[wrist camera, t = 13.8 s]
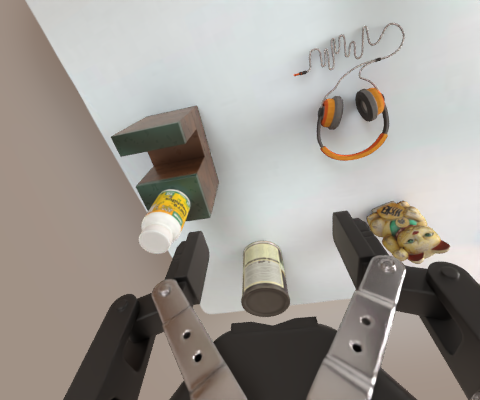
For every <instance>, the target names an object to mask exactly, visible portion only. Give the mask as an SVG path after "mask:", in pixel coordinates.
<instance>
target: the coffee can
mask: <svg viewBox="0 0 480 400" xmlns="http://www.w3.org/2000/svg"><path fill="white" fill-rule="evenodd" d="M241 303H242V306H243V308H244V309H245V310H246V311H247V312H248V313H250V314H252V315H256V316H260V317H271V316H276V315H279V314H281V313H282V312H284V311H285V310H286V309H287V308H288V307H289V305H290V298H289V295H288V290H287V284H286V278H285V272H284V266H283V260H282V252H281V250H280V248H279V247H278V246H277V245H276V244H274V243H272V242H269V241H257V242H254V243H251V244H250V245H248V246H247V247H246V248H245V250H244V253H243V289H242V300H241Z"/></svg>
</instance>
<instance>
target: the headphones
mask: <svg viewBox="0 0 480 400" xmlns="http://www.w3.org/2000/svg"><path fill="white" fill-rule="evenodd" d="M389 25H396V26H398V27H399V28H400V29H401V31H402V34H403V40H402V43H401V45H400V47H399V48H398V50H396V51H395V52H394V53H392V54H391V55H389V56H386V57H383V58H377V59H375V60H371V61H368V62H365V63H362V64H360V65H358V66H356V67H354V68H353V69H351V70H350V71H349V72H347V73H346V74H345V75H344V76H343V77H342V78H341V79H340V80H339V81H338V83H337V85H336V86H335V88H334V89H333V90H331V91H330V92H329V93H328V94H327V95H326V96H325V98H324V99H323V101H322V104H321V108H319V111H318V122H317V140H318V143H319V145H320V147H321V148H320V149H321V151H322V152H323V153H324V154H326V155H327V156H328V157H330V158H333V159H336V160H344V161H346V160H354V159H359V158H362V157H365V156H367V155H369V154H371V153H373V152H374V151H376V150H377V149H378V148H379V147H380V146H381V145H382V144H383V143H384V141H385V140H386V138H387V136H388V135H387V132H388V129H389V116H388V112H387V108H386V105H385V102H384V96H383V94H382V93H380V91H379V90H378V88H377V87H376V85H375V84H374V83H373V82H371V81H370V80H367V79H365V78H362V77H361V76H360V73H361V71H362V69H363V68H364V67H365V66H367V65H369V64H371V63H373V62H377V61H380V60H382V59H385V58H388V57H390V56H392V55H394V54H395V53H396V52H398V51H399V49H400V48H401V46H402V45H403V42H404V38H405V35H404V31H403V29H402V27H401V26H400V25H399V24H396V23H390V24H388V25H387V26H386V27H385V29H384V30H383V32H382V34H381V36H380V38H379V40H378V41H377V42H376V43H374V44H371V42H370V39H369V35H368V28H367V26H364V27H363V29H362V53H361V56H360V57H357V56H356V45H355V42H354V41H352V42H351V43H350V45H349V54H348V56H347V55H346V41H345V36H344V35H340V36H339V39H338V41H339V48H338V52H336V45H335V39H334V38H332V40H331V50H332V57H333V68H332V69H331V68H330V60H329V52H328V49H325V50H324V56H325V64H324V65H323V64H322V55H321V51H320V50H319V49H318V48H315V49H312V50H311V51H310V54H309V64H310V68H309V70H308V71H303V72H300V73H298V74H294V76H297V75H303V74H306V73H308V72H309V71H310V69H311V58H310V57H311V52H312V51H314V50H318V51H319V53H320V59H321V66H322V67H325V65H326V51H327V56H328V67H329V70H333V69H334V65H335V63H334V53H333V45H332V41H333V40H334V51H335V53H336V54H338V53H339V51H340V37H341V36H343V38H344V49H345V56H346V57H349V56H350V47H351V44H352V43H354V56H355V58H356V59H360V58H361V57H362V55H363V42H364V28H366V33H367V39H368V42H369V44H370V45H372V46H373V45H376V44H377V43H378V42H379V41H380V39H381V37H382V35H383V33H384V31H385V30H386V28H387V27H388V26H389ZM364 64H366V65H364ZM362 65H364V66H363V67H362V68H361V70H360V71H359V78H360V79H363V80H365V81H368V82H370V83H371V84H372V85H373V86H374V87H375V88H376V89H375V88H370V89H367V90H366V89H362V90H360V91H359V92H357V94H356V99H355V100H356V106H357V109H358V111H359V113H360V115H361V116H362V117H363V119H365V120H366V121H369V122H370V121H372V120H374V119H376V118H377V115H379V114H380V113H383V118H384V128H383V132H382V133H381V134H380V135H379V137H378V139H377V140H376V141H375V142H374V143H373V144H372V145H371V146H370V147H369V148H367V149H366V150H364V151H362V152H359V153H356V154H352V155H339V154H335V153H333V152H331V151H330V150H328V149H327V148H326V147H325V146H323V144H322V142H321V138H320V125H322V126H324V127H328V128H329V129H330V130H334V129H336V128H337V127H338V125H339V124H340V121H341V118H342V113H343V100H342V98H341V97H340V96H334V97H333V98H332V99H326V97H327V96H328V95H329V94H330V93H331V92H332V91H334V90H335V89H336V87H337V86H338V84H339V82H340V81H341V80H342V79H343V78H344V77H345V76H346V75H347V74H348V73H350V72H351V71H352V70H354V69H355V68H357V67H359V66H362ZM325 99H326V100H325ZM324 100H325V101H324Z"/></svg>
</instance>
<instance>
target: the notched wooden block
mask: <svg viewBox="0 0 480 400" xmlns="http://www.w3.org/2000/svg"><path fill="white" fill-rule="evenodd" d="M111 138H112V140H113V142H114V144H115V146H116V148H117V150H118V152H119V154H120V156H121V157H122V156H127V155H132V154H137V153H142V152H148V154H149V156H150V159H151V161H152V163H153V168H152V169H151V170H150V171H149V172H148V173H147V174H146V175H145V177H144V178H143V179H142V180H141V181H140V182H139V183H138V185H137V186H136V188H137V190H138V192H139V194H140V196H141V198H142V200H143V202H144V204H145V206H146V208H147V210H148V211H149V209H150V208H151V206H152V205H153V203H154V202H155V200H156V199H157V197H158V195H159V194H160V193H161V192H163V191H164V190H168V189H173V190H178V191H181V192H182V193H184V194H185V195H186V196H187V197H188V199H189V201H190V210H189V212H188V215H187V218H186V220H185V221H192V220H199V219H205V218H210V216H211V212H212V208H213V204H214V200H215V196H216V192H217V188H218V184H219V181H218V178H217V174H216V171H215V167H214V164H213V160H212V157H211V153H210V150H209V146H208V143H207V139H206V136H205V132H204V129H203V125H202V122H201V118H200V114H199V111H198V107H197V106H193V107H188V108H184V109H179V110H175V111H170V112H166V113H161V114H156V115H152V116H147V117H145V118H143V119H142V120H140V121H138V122H136V123H134V124H133V125H131V126H129V127H127V128H125V129H124V130H122V131H120V132H118V133H117V134H115V135H113V136H111Z"/></svg>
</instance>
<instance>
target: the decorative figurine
mask: <svg viewBox="0 0 480 400" xmlns="http://www.w3.org/2000/svg"><path fill="white" fill-rule="evenodd" d="M372 212H373V213H372V215H370V216H368V217H367V221H368V224H369V226H370V229H371V231H372V232H373V233H374V234H375V235H376V236H378V237H383V240H382V243H383V245H384V246H385V247H386V249H388V250H389V251H390V252H391V253H392V255H393V256H394V257H395V258H396V259H398V260H400V261H404V260H406V259H408V260H409V261H411V262H413V263H415V264H420V263H422V262H423V260H424V259H426V258H428V257H430V256H432V255H434V254H435V253H438V254H440V253H445V252H447V251H448V250H449V248H450V245H449V244H447V243H446V242H444V241H442V240H441V239H440V237H439V236H438V234H437V233H436V232H435V231H434V230H433V229H431V228H430V227H427V222H426V220H425V218H424V217H423V216H422V215H421V214H420V212H419V211H418V209H416V208H415V207H411V206H409V204H408V203H407V202H405V201H402V202H399V203H397V204H396V203H395V202H394V201H391V202H389V203H385V204H384V205H381V206H379V207H377V208H374V209H372Z"/></svg>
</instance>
